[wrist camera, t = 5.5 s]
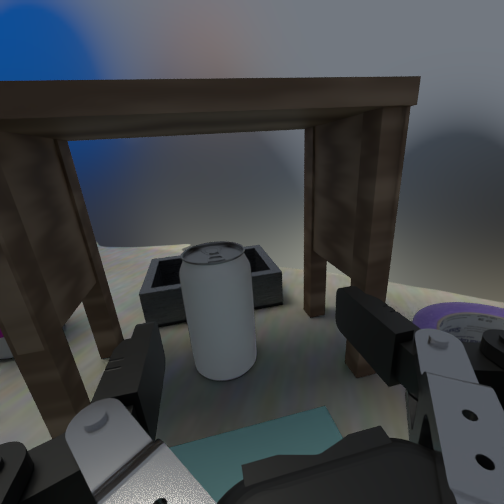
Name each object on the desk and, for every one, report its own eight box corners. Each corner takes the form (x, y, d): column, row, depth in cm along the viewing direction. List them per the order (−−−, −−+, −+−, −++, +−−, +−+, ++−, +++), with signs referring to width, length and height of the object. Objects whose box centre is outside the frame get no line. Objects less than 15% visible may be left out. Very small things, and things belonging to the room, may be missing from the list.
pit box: (282, 304, 36) (281, 271, 35) (147, 329, 33) (139, 294, 31) (260, 270, 47) (259, 244, 46) (157, 286, 44) (151, 259, 42)
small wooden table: (379, 377, 24) (420, 76, 16) (56, 460, 19) (-129, 82, 11) (315, 304, 36) (320, 112, 28) (107, 343, 31) (38, 123, 23)
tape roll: (432, 444, 18) (446, 390, 17) (391, 337, 29) (396, 297, 27) (657, 482, 16) (701, 423, 14) (520, 348, 26) (535, 305, 24)
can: (248, 333, 31) (240, 236, 27) (265, 373, 25) (258, 257, 21) (192, 346, 29) (175, 245, 25) (197, 392, 24) (175, 271, 19)
